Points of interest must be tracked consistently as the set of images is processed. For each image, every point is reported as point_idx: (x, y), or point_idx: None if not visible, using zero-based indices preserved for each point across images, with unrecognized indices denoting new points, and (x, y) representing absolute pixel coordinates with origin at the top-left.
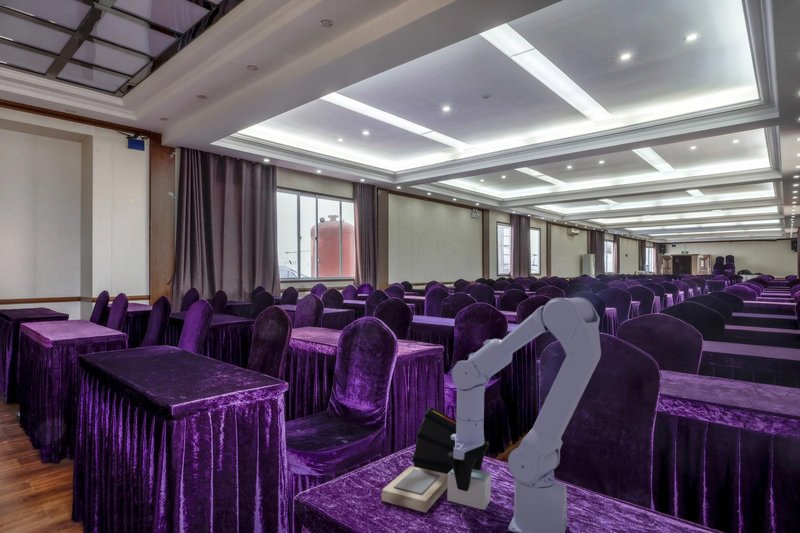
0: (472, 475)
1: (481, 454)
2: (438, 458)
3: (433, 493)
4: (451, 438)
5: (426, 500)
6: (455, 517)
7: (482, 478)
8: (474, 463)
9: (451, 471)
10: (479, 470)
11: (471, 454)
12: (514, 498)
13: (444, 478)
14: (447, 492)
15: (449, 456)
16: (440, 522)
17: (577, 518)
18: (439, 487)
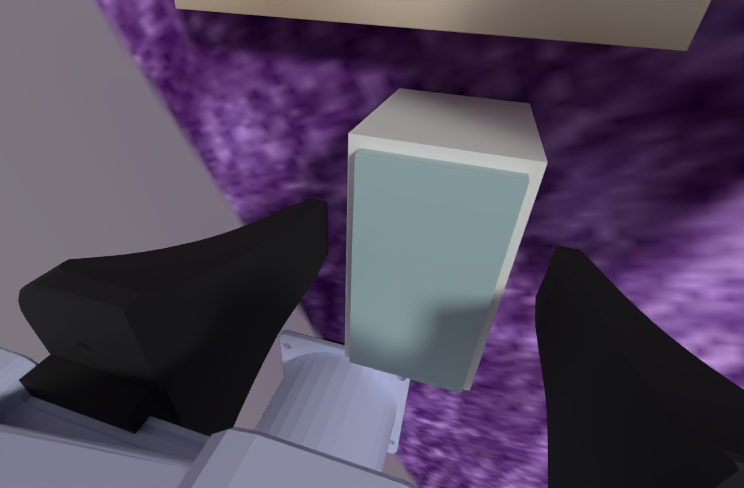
0: (368, 312)
1: (552, 464)
2: None
3: (295, 17)
4: (194, 461)
5: (187, 7)
6: (267, 165)
7: (355, 357)
8: (236, 416)
9: (367, 168)
10: (472, 351)
11: (589, 386)
12: (295, 419)
13: (579, 19)
14: (388, 98)
15: (25, 297)
16: (197, 112)
17: (442, 472)
18: (410, 26)
